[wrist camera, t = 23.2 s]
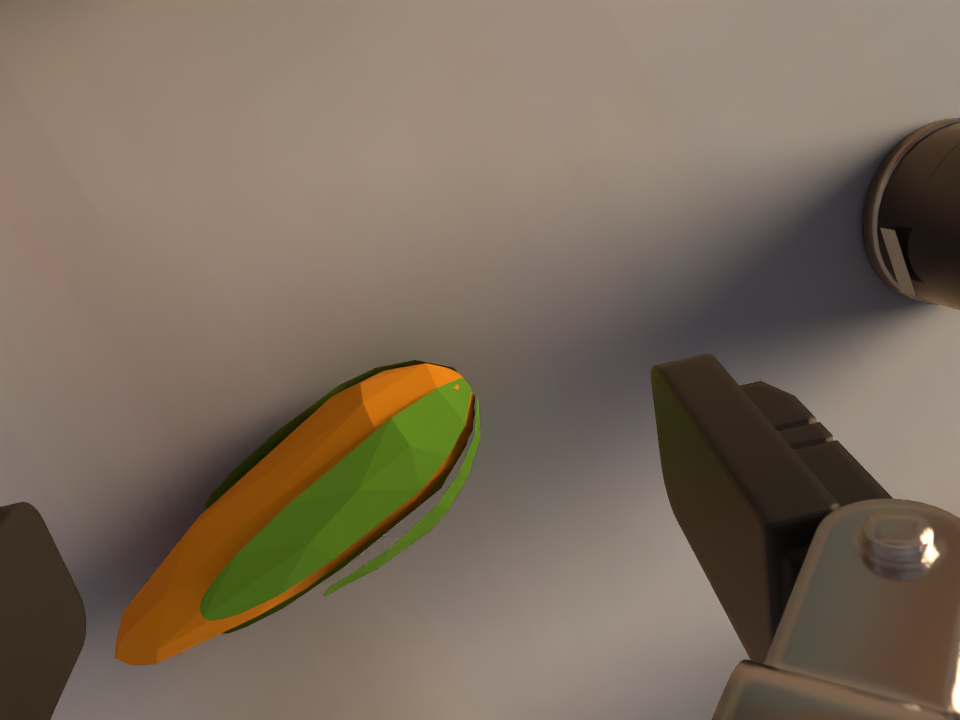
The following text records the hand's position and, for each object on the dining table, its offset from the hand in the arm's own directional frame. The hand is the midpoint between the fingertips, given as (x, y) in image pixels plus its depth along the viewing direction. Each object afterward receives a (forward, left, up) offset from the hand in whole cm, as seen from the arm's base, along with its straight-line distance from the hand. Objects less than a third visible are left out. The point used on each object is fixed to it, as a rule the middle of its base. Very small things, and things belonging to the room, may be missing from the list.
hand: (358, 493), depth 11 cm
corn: (+6, +12, -30) cm, 33 cm away
